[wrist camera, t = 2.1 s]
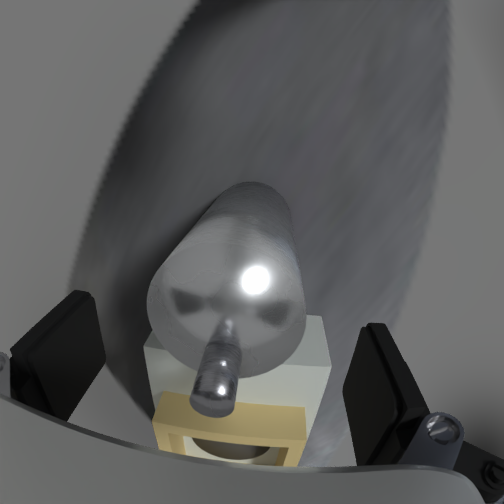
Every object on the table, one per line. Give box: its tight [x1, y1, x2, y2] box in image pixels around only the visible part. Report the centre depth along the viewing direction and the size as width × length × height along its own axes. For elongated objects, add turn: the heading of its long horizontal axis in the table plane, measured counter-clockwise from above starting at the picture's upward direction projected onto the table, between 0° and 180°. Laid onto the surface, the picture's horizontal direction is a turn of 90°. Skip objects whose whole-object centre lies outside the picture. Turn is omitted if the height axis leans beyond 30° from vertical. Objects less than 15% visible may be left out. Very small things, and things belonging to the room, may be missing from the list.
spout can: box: [147, 182, 307, 418], centre depth 15 cm, size 6×6×14 cm
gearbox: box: [143, 315, 332, 467], centre depth 23 cm, size 18×12×9 cm, turn 176°
